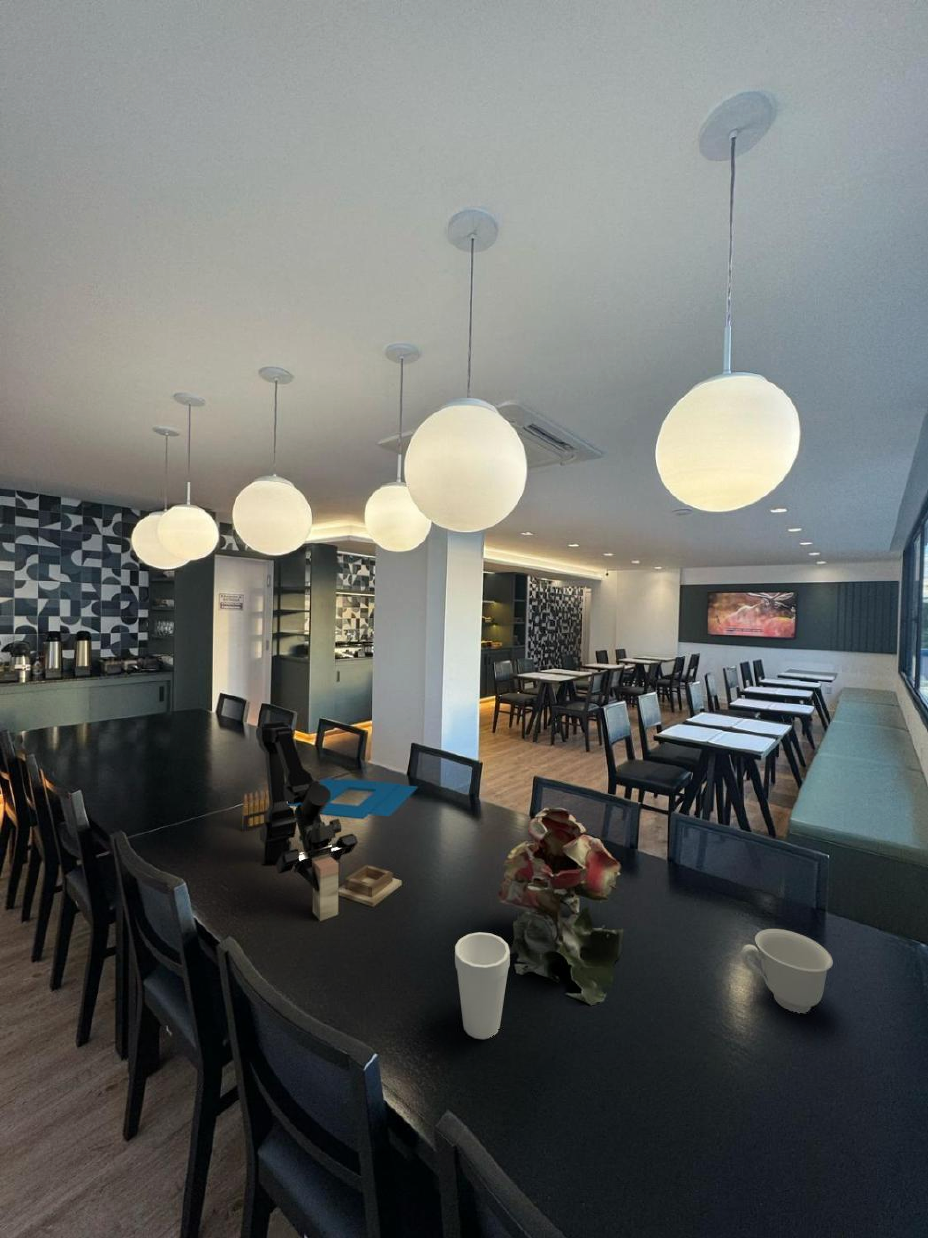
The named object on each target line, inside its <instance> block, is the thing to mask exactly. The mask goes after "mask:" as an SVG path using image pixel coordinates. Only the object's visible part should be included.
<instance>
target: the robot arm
mask: <svg viewBox="0 0 928 1238" xmlns="http://www.w3.org/2000/svg"><path fill="white" fill-rule="evenodd" d="M255 736H256V740H257V742H258V746H259V748H260V749H261V750H262V752H263V753H264V754H265V764H266V765H265V766H266V776H267V777H266V779H267V790H268V793H269V807H268V809H267V811H266V813H265V815H264V823H263V825H262V827H260V830H259V831H258V832H259V833H258V834H259V840H260V841H261V843H262V844H264V854H263V855H264V859H263V861H262V866H271V865H272V866H273V865H275V867H276V871H277V874H279V875H280V874H283V873H288V872H290V871H292V869H293V867H294V869H293V872H294V874H296V873H298V874H299V875H300V876H301V877H302V878H304V879H305V880H306V881H307V882H308V883H309V885H310V886H311V887H312V889H313V888H314V889H315V890H316V892H319V890H320V889H319V884H318V881H317V878H316V875H315V872H314V869H313V859H315V858H318V857H321V856H324V855H329V856H328V857H332V858H333V859H334V860H335V861H336V862H337V863H339V864H338V885H339V883H340V864H341V863H340V862H341V857H342V856H345V855H347V854H350V853H352V852H353V850H354V849H355V847H356V846H357V845H358V843H359V842H358V839H357V836H356V835H355V834H353V833H349V834H345V835H342V836H339V837H338V839H337V841H336V842H335V843H331V842H332V841H333V839H334V838H335V839H336V837H337V836H336V834H338V833H341V832H342V825H341V822H340V819H339V818H336V819H332V820H330V821H329V824H327V825H326V823H325V821H323V820H322V818H321V817H322V816H321V813H322V812H323V810H324V808H325V807H326V805H327V803H328V802H329V800H330V797H331V794H330V791H329V790H328V789H327V788H326V787H325V786H323V785H320V784H319V780H314V778H313V776H312V774H311V772H309V771H308V770H307V769H306V770H305V768H304V766H303V764H302V762H301V761H302V760H301V758H300V755H299V752H298V750H297V746H296V744H295V740H294V732H293V729H292V726H291V724H285V723H284V721H283V720H280V721H271V722H270V721H269V722H263V723H262V722H261V723H260V724H259V726H258V727H256V730H255ZM287 803H289V804H291V805H292V804H297V803H301V804H300V805H298V806H297V807H296V808H295V810H294V807H292V806H289V805H288V804H287ZM296 829H298V832H299V837H298V839H299V842H300V841H301V844H302V846H303V851H302V852H300V850H299V849H298V848H294V849H292V841H291V840H290V839H292V838H295V837H296V836H295V835H296V831H297V830H296ZM329 843H330V844H329Z"/></svg>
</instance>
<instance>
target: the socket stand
mask: <svg viewBox="0 0 928 1238" xmlns="http://www.w3.org/2000/svg"><path fill="white" fill-rule="evenodd" d="M393 876H394V875H393V872H392V871H390V870H386V869H382V868H379V867H376V866H372V865H368V864H366V865H363V866H362V867H361V868H359V869H358V870H356V871H354V873H352V874H349V876H347V877H346V878H344V881H345V882H344V883H343V884H342V885H341V886H338V897H339V896H340V897H343V898H346V899H347V900H348V899H349V900H351V901H355V902H357V903H360V904H364V905H367V906H369V907H373V908H374V907H375V906H376V905H378V904H379V903H380V902H381V901H383V900H384V899H385V898H387V897H388V896H389V895H390V894H391V893H393V892H394V891H396V890H397V889H398V888H399V887H401V886H402V883H403V882H402V880H401V879H398V878H395V877H393Z"/></svg>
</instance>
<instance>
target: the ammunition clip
mask: <svg viewBox="0 0 928 1238" xmlns="http://www.w3.org/2000/svg"><path fill="white" fill-rule="evenodd" d="M248 796H249V797H248ZM248 796H247V793H244V795H243V801H242V803H243V804H242V815H241V826H240V827H241V828H240V829H241V831H242V832H247V831H251V830H254V829H259V828H260V829H261V827H262V825H263V823H264V815H265V813H266V811H267V809H268V807H269V793H268V788H266V790H265V792H264V791H263V790H262V789H261V790H260V791H259V794H258V791H257V790H256V791H255V793H254V798H253V793H252V792H250V793H249V795H248Z"/></svg>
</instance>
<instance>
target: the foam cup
mask: <svg viewBox="0 0 928 1238" xmlns="http://www.w3.org/2000/svg"><path fill="white" fill-rule="evenodd" d="M509 949H510V946H509V944H508V943H507V942H506V941H505V940H504V939H503V938H502V937H501V936H498V935H495V934H493V933H489V932H481V931H480V932H479V931H478V932H473V933H468V934H466V935H465V936H463V937H461V938H460V939H458V940H457V943H456V944H455V945H454V951H455V952H454V964H455V969H456V971H457V972H456V973H457V980H458V989H459V997H460V1006H461V1007H460V1008H461V1015H462V1016H461V1018H462V1022H463V1023H462V1025H463V1030H464V1031H465V1032H466V1034H467V1035H468V1036H470V1037H472V1038H473V1039H478V1040H486V1039H491V1038H493V1037H494V1036H495V1035H496V1034H497V1033H499V1030H498V1029H500V1028H501V1022H502V1016H503V1015H502V1014H503V1006H504V1001H505V1000H504V999H505V992H506V985H507V981H508V980H507V978H508V971H509V968H510V966H511V965H510V964H511V963H510V961H511V959H510V958H511V956H510V955H511V954H510V950H509ZM493 1035H494V1036H493ZM492 1036H493V1037H492ZM490 1037H491V1038H490Z"/></svg>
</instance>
